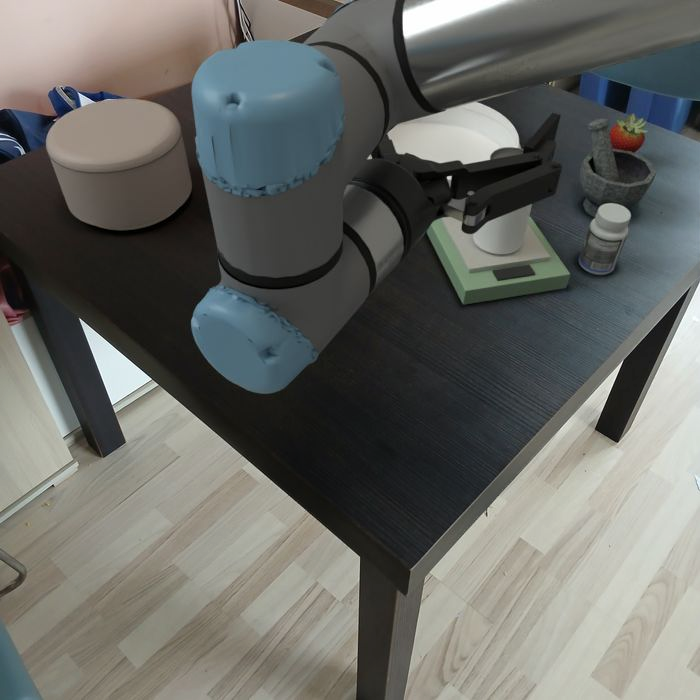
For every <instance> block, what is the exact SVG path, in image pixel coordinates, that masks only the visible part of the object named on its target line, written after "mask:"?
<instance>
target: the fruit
mask: <svg viewBox="0 0 700 700" xmlns="http://www.w3.org/2000/svg"><path fill="white" fill-rule="evenodd" d="M635 120H636V115H635V112H633V113H629V114H628V116H627V118H626V120H625V121H623V120H621V119H616V124H615V125H614V126H612V128H611V129H610V130H609V134H610V139H611V143H612V148H613V149H618V150H624V151H631V152H633V153H635V154H636V152H638V151H639V150H640V149H641V148H642V146H644V145H643V144H644V143H645V139H646V137H645V133H646V134H647V133H648V130H647V129H642V128H644V127H645V125H646V123H647V122H646V121H647V120H645V121H644V117H642V118H640V119H638V120H637V121H635ZM643 121H644V122H643Z"/></svg>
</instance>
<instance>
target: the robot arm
mask: <svg viewBox="0 0 700 700" xmlns="http://www.w3.org/2000/svg"><path fill="white" fill-rule="evenodd" d="M698 43H700V0H349V1H347V2H345V3H343V4H341V5H340V6H338V7H336V9H335V10H334V11H333V12H332V13H331V15H330V16H329V17H328V18H327V19H326V20H325V21H324V23H322V24H321V26H319V27H318V28H317V30H315V31H314V32H313V33H312V34H311V35H309V37H308V38H306V40H304V42H302V43H301V42H296V41H291V40H285V39H258V40H252V41H245V42H240V43H239V44H238V45H237V47H234V48H227V49H226V48H225V49H221V50H218V51H216V52H215V53H213V54H212V55H210V56H209V57H208V58H206V59H205V60H203V62H202V63H201V65H199V67H198V69H197V70H196V72H195V74H194V76H193V79H192V83H191V91H190V92H191V101H192V109H193V116H194V118H193V119H194V125H195V133H196V134H195V135H196V136H195V137H194V143H195V147H196V148H195V149H196V150H195V154H196V158H197V161H198V163H199V166H200V169H201V173H202V178H203V183H204V188H205V192H206V198H207V202H208V208H209V212H210V217H211V222H212V227H213V233H214V237H215V242H216V248H217V252H216V254H217V260H218V265H219V266H218V267H219V272H220V282H219V283H218V284H217V285H216V286H215V285H214V286H213V287H211V288H209V289H208V291H207V292H206V294H205V296H204V297H203V298H201V301H199V302H198V303H197V304H196V306H195V308H194V310H193V313H192V317H191V319H190V327H191V333H192V337H193V339H194V342H195V344H196V346H197V348H198V349H199V351H200V352H201V354H202V356H203V357H204V359H206V360H207V362H208V363H209V365H211V366H212V367H213V368H214V370H216V371H217V372H218V373H219V374H220V375H221V376H223V377H224V378H225V379H226V380H228V381H229V382H231V383H233V384H234V385H237V386H238V387H241V388H243V389H244V390H246V391H248V392H251V393H255V394H262V395H269V394H274V393H278V392H279V391H282V390H284V389H286V387H288V386H289V384H291V383H292V381H294V380H295V378H297V376H299V374H301V373H302V372H303V370H305V368H306V367H307V366H308V365H311V364H313V363H315V362H316V361H317V359H318V358H319V355H320V354H321V353H322V352H323V351H324V349H325V348H326V347H327V346H328V345H329V344H330V343H331V341H332V340H333V339H334V338H335V337H336V336H337V334H338V333H339V332H340V331H341V329H342V328H343V327H344V326H345V325H346V324H347V322H348V321H349V320H350V319H351V318H352V317H353V315H354V314H355V313H356V312H357V311H358V310H359V309H360V308H361V306H362V305H363V304H364V303H365V301H366V300H367V299H368V298H369V296H371V295H372V294H373V293H374V291H376V290H377V288H378V287H379V286H380V285H381V284H382V283H383V281H385V279H386V278H387V277H388V276H389V274H390V273H392V271H394V269H395V268H396V267H397V266H398V264H399V263H400V262H401V261H403V259H404V258H406V256H407V255H408V254H409V252H411V251H412V249H414V247H415V246H416V245H417V244H418V243H419V242H420V240H422V238H423V237H424V236H425V234H427V230H428V229H429V227H430V225H431V224H432V223H433V222H434V221H435V220H437V219H440V218H443V217H452V218H454V219H457V220H459V221H461V222H462V227H461V230H462V231H463V232H464V233H466V234H474V233H476V232H477V231H478V230H479V229H480V228H481V227H482V226H483V225H485V224H486V223H487V222H488V221H491V220H493V219H496V218H498V217H501V216H503V215H506V214H508V213H511V212H513V211H516V210H518V209H521V208H523V207H526V206H528V205H530V204H532V205H533V204H535V203H538V202H540V201H542V200H545V199H548V198H550V197H552V196H555V195H556V192H557V190H558V185H559V181H560V178H561V174H562V169H563V164H562V163H560V162H558V161H553V160H554V156H555V152H556V148H557V141H556V136H557V132H558V129H559V125H560V120H561V116H562V115H561V114H559V113H556V112H555V113H554V112H552V113H551V114H550V115H549V116H548V117H547V119H546V120H545V121H544V122H543V123H542V125H540V126H539V128H538V129H537V130H536V131H535V133H534V134H533V135H531V137H530V138H529V140H527V142H526V143H524V144H525V145H524V146H523V149H524V150H523V154H519V155H513V156H508V157H502V158H497V159H491V160H486V161H480V162H475V163H469V164H463V163H462V162H461V161H459V160H455V161H450V162H444V163H437V162H434V161H431V160H424V159H421V158H419V157H417V156H415V155H412V154H409V153H405V154H398V153H396V150H395V147H394V145H393V142H392V139H389V137H388V134H387V133H388V132H389V131H390V130H391V129H393V128H394V127H395V126H396V125H397V124H400V123H403V122H407V121H410V120H414V119H418V118H422V117H425V116H429V115H433V114H436V113H440V112H443V111H446V110H448V109H452V108H455V107H459V106H463V105H466V104H470V103H474V102H478V103H479V102H481V101H485V100H489V99H492V98H495V97H499V96H503V95H507V94H511V93H515V92H518V91H522V90H526V89H529V88H533V87H537V86H540V85H544V84H549V83H553V82H556V81H559V80H563V79H567V78H571V77H574V76H577V75H582V74H585V73H589V72H593V71H598V70H602V69H604V68H608V67H612V66H616V65H620V64H623V63H627V62H631V61H634V60H638V59H642V58H645V57H649V56H653V55H656V54H660V53H664V52H667V51H672V50H676V49H679V48H682V47H687V46H691V45H694V44H698ZM370 154H371V157H372V159H368V160H367V158H368V157H369V156H370ZM448 176H452V178H451V186H449V183H448V179H447V177H448Z"/></svg>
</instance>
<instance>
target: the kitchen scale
mask: <svg viewBox="0 0 700 700" xmlns="http://www.w3.org/2000/svg"><path fill="white" fill-rule="evenodd" d="M530 215H531V214H530ZM530 215H529V219H528V224H527V228H526V232H525V236H524V240H523V243H522V246H521V247H520V248H519V249H518V250H517V251H515V252H513V253H511V254H507V255H494V254H490V253H487V252H485V251H483V250H482V249H480V248H479V247H478V246H477V245H476V243H475V242H474V239H473V234H466V233H464V232H463V231H462V230H461V227H462V222H461V221H459V220H457V219H454V218H452V217H450V216H445V217H443V218H440V219H437V220H435V221H434V222H433V223H432V224H431V225H430V227H429V229H428V230H427V232H426V234H427V236H428V239H429V241H430V242H431V244H432V246H433V249H434V251H435V252H436V254H437V256H438V258H439V261H440V262H441V264H442V266H443V268H444V271H445V272H446V274H447V276H448V278H449V280H450V283H451V284H452V286H453V288H454V290H455V292H456V293H457V296H458V298H459V299H460V302H461V303H462V305H465V306H466V305H470V304H477V303H482V302H489V301H495V300H502V299H507V298H513V297H520V296H526V295H532V294H538V293H545V292H550V291H556V290H563V289H566V288H567V286H568V283H569V280H570V277H571V273H570V272H569V270H568V268H567V267H566V266H565V264H564V262H563V261H562V260H561V259H560V257H559V255H558V254H557V253H556V252H555V250H554V248H553V247H552V245H551V243H549V241H548V240H547V238H546V237H545V235H544V234H543V232H542V230H540V228H539V227H538V226H537V224H536V223H535V221H534V220H533V218H532V217H531V216H530Z"/></svg>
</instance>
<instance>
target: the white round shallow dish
mask: <svg viewBox="0 0 700 700" xmlns="http://www.w3.org/2000/svg"><path fill="white" fill-rule="evenodd" d="M387 134H388V137H389V139H392V142H393V145H394V147H395V150H396V153H398V154H405V153H409V154H412V155H415V156H417V157H419V158H421V159H424V160H431V161H434V162H437V163H444V162H450V161H455V160H459V161H461V162H462V163H463V164H469V163H475V162H480V161H486V160H490V155H491V154H492V153H493V152H494V151H495V150H497V149H500V148H505V147H516V148H521V149H522V147H521V144H520V137H519V133H518V131H517V129H516V128H515V126H514V125H513V123H512V122H511V121H510V120H509V119H508V118H507V117H506V116H504V115H503V114H502V113H500V112H499V111H497V110H495V109H494V108H492V107H490V106H488V105H485V104H483V103H481V102H479V101H478V102H474V103H470V104H466V105H463V106H459V107H455V108H452V109H448V110H446V111H443V112H440V113H436V114H433V115H429V116H425V117H422V118H418V119H414V120H410V121H407V122H403V123H400V124H397V125H396V126H395V127H394V128H393V129H391V130H390V131H389V132H388V133H387ZM368 159H372V157H371V154H370V156H369V157H368V158H367V160H368ZM451 178H452V176H448V177H447V179H448V183H449V186H451Z"/></svg>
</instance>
